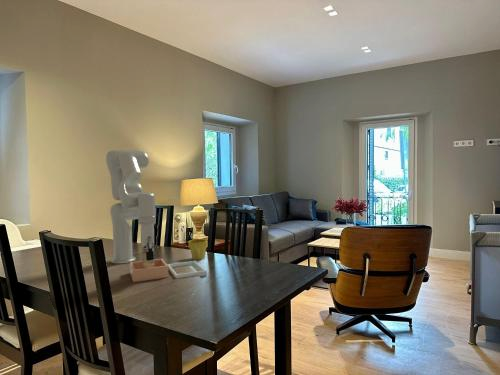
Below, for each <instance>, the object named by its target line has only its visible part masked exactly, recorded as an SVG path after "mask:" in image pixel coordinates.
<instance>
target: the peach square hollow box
mask: <svg viewBox="0 0 500 375" xmlns="http://www.w3.org/2000/svg"><path fill="white" fill-rule="evenodd" d="M167 264H168V263H167V262H166V261H165V260H164V259H163V258H156V259H155V258H154V267H151V268H144V269H143V260H139V261H138V260H137V261H132V262H129V274H130V277H131V279H132V283H135V282H142V281H143V282H144V281H150V280H159V279H165V278H169V276H170V275H169V269H168V265H167Z"/></svg>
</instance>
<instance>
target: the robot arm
mask: <svg viewBox="0 0 500 375" xmlns="http://www.w3.org/2000/svg"><path fill="white" fill-rule="evenodd" d="M149 159H150V158H149V155H148V154H147V153H146V151H141V150H137V149H135V150H133V149H126V150H125V149H111V150H109V151H107V153H106V155H105V162H106V166H107V169H108V171H109V174H110V186H111V195H112V198H113V199H114V200H115V201H120V202H118V203H117V202H116V203H114V204H113V205H111V207H110V210H109V213H110V217H111V223H112V224H111V225H112V244H113V258H111V259H110V263H112V264H117V265H118V264H119V265H121V264H128V263H129V264H130V262H136V257H135V256H133V236H132V235H133V232H132V226H131V225H130V224H129V223H128V221H130V220H138V225H140V245H141V246H142V247H143V248H142V249H144V248H146V250H147V251H146V260H147V261H149V260H154V259H155V250H154V251H153V248H154V245H155V228H154V224H157V223H156V220H157V218H156V216H157V214H156V195H155V194H154V193H152V192H148V191H145V192H144V190H143V187H142V185H141V184H140V183H139V181H140V180H141V179H142V177H143V173H142V171H141V169H142V168H144V169H145V168H147V167H148V166H149V163H150V160H149Z"/></svg>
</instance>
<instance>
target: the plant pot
mask: <svg viewBox="0 0 500 375" xmlns="http://www.w3.org/2000/svg"><path fill="white" fill-rule="evenodd" d="M188 248H189V250H190V253H191V258H192V260H193V261H199V260H204V259H205V258H206V251H207V248H208V240H207V239H206V238H205V239H204V238H203V239H201V238H198V239H197V238H196V239H191V240H188Z"/></svg>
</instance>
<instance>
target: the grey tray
mask: <svg viewBox="0 0 500 375" xmlns="http://www.w3.org/2000/svg"><path fill="white" fill-rule="evenodd" d="M166 264H167V265H168V271H170V273H171V274H172V276H173V277H174V278H175V279H182V278H189V277H195V276H198V277H199V278H203V277H204V278H205V277H207V273H208V272H207V269H205V268H204V267H203V266H202V265H200V263H198V261H197V260H190V261H183V262H174V263H166ZM184 266H188V267H189V268H190V269H191V270H192V272H191V271H190V272H185V273H177V272H176V270H175V269H174V268H176V267H184Z"/></svg>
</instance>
